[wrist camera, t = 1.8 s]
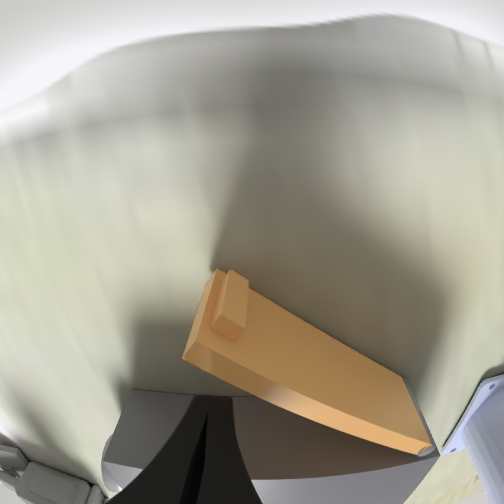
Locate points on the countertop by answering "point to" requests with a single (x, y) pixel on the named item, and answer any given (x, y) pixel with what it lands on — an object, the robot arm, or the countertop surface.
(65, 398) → the countertop surface
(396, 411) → the case door
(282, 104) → the countertop surface
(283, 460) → the camera case
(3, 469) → the camera
